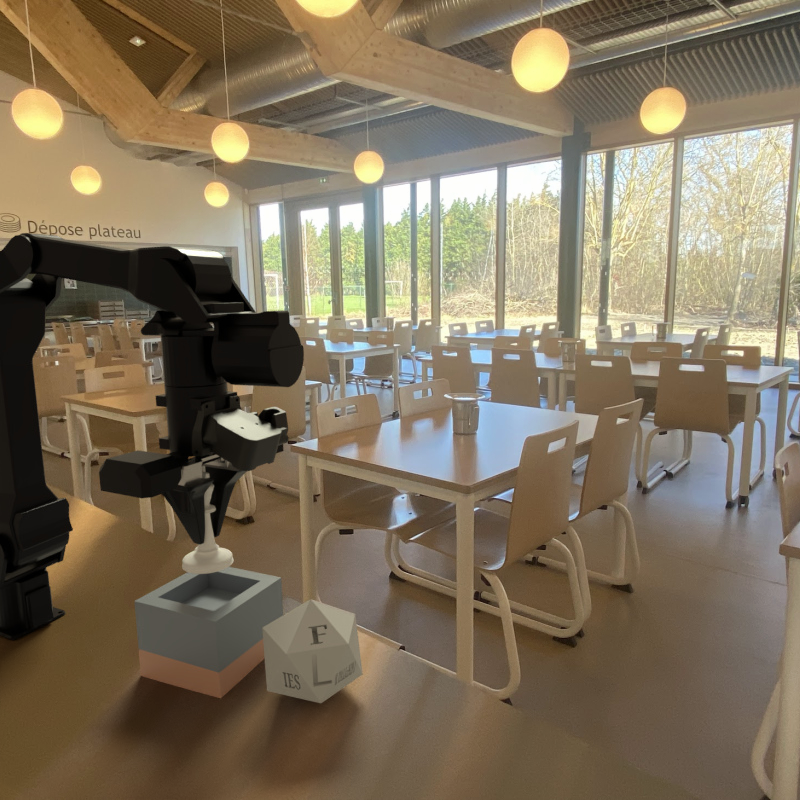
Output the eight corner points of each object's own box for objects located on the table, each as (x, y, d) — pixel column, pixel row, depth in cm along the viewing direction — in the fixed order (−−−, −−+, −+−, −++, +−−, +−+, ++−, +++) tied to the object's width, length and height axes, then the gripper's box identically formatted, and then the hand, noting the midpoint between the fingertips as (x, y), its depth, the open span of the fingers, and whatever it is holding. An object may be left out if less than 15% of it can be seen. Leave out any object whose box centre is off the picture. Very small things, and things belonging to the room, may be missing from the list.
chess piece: (214, 550, 68) (208, 457, 66) (243, 561, 65) (238, 464, 63) (172, 565, 64) (164, 467, 62) (200, 578, 61) (194, 475, 59)
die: (271, 742, 54) (265, 630, 52) (264, 682, 62) (258, 584, 61) (371, 723, 56) (368, 615, 54) (350, 667, 64) (348, 572, 63)
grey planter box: (141, 677, 64) (134, 601, 62) (210, 629, 73) (206, 562, 71) (221, 702, 59) (215, 621, 58) (284, 648, 68) (281, 577, 67)
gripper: (183, 404, 49) (197, 595, 52) (322, 375, 66) (327, 522, 68) (87, 395, 55) (103, 570, 57) (238, 371, 71) (245, 507, 73)
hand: (206, 539), depth 64 cm, fingers closed on chess piece, 2 cm apart
